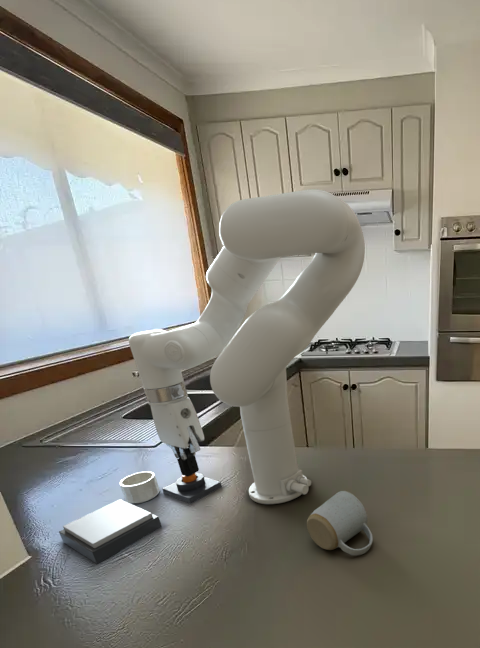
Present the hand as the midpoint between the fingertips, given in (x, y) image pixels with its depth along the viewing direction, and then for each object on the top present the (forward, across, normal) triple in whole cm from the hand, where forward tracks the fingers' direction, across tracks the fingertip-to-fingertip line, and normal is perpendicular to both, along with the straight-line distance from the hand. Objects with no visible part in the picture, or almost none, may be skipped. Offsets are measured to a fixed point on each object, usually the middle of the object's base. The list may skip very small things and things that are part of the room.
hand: (190, 472), depth 93 cm
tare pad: (+4, +1, 0) cm, 4 cm away
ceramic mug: (+6, -41, -1) cm, 42 cm away
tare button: (+2, +1, 0) cm, 2 cm away
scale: (+4, 0, +18) cm, 19 cm away
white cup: (+4, +9, +7) cm, 12 cm away
